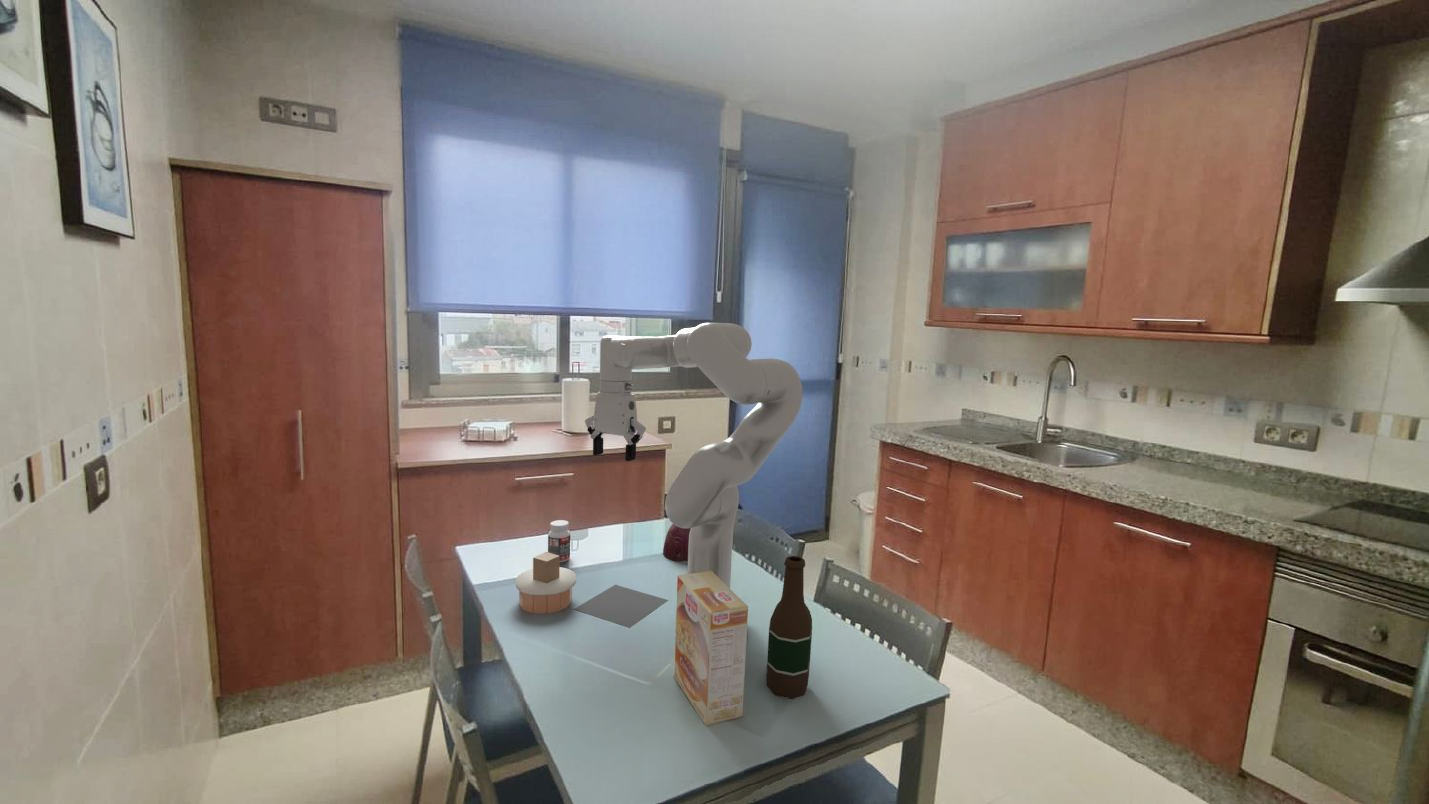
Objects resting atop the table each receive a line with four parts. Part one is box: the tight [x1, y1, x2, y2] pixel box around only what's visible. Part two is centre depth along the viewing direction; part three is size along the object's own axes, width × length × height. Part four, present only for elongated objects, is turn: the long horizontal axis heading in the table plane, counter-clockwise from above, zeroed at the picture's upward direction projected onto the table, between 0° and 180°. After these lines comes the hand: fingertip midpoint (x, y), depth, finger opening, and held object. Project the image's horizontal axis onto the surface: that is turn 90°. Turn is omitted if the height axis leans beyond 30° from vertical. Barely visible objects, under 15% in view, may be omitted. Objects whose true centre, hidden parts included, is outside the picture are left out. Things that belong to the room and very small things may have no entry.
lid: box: [515, 551, 577, 595], centre depth 137 cm, size 13×13×6 cm
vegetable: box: [662, 523, 691, 563], centre depth 170 cm, size 10×10×15 cm
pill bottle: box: [547, 519, 571, 563], centre depth 163 cm, size 6×6×10 cm
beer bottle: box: [765, 555, 813, 699], centre depth 109 cm, size 8×8×24 cm
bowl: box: [518, 587, 573, 615], centre depth 138 cm, size 11×11×5 cm
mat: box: [573, 584, 669, 629], centre depth 139 cm, size 15×15×1 cm
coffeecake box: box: [673, 571, 749, 726], centre depth 106 cm, size 15×7×20 cm, turn 24°
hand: (614, 457), depth 151 cm, fingers open, 9 cm apart
